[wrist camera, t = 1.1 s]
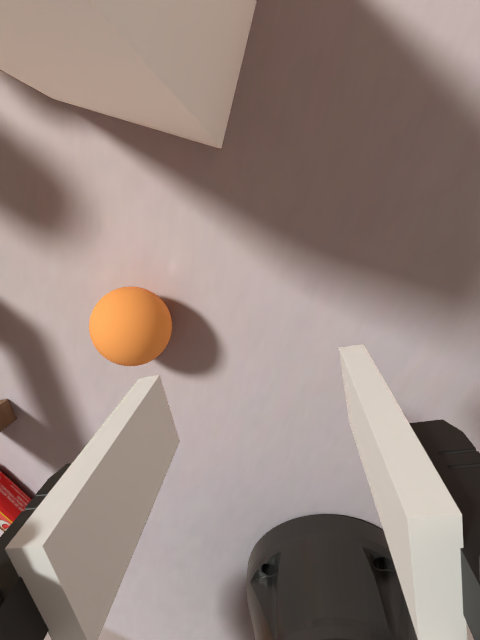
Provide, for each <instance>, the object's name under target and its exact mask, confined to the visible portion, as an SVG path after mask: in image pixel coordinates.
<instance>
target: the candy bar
mask: <svg viewBox="0 0 480 640" xmlns="http://www.w3.org/2000/svg"><path fill="white" fill-rule="evenodd" d="M30 501H31V499H30V498H29V497H28V496H27V495H26V494H25V493H24V492H23V491H22V490H21V489H20V488H19V487H18V486H17V485H15V484H14V483H13V482H12V481H11V480H10V479H9V478H8V477H7V476H5V475H4V474H3V473H2V472H1V471H0V529H1V530H2V531H3V532H5V531H6V530H7V529H8V527H9V526H10V525H11V524H12V523H13V521H14V520H15V519H16V518H17V516H18V515H19V514H20V513H21V512H22V511H25V507H26V506H27V504H28V503H29V502H30Z"/></svg>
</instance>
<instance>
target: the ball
mask: <svg viewBox="0 0 480 640" xmlns="http://www.w3.org/2000/svg"><path fill="white" fill-rule="evenodd" d="M89 331H90V336H91V339H92V342H93V344H94V346H95V347H96V349H97V350H98V351H99V353H100V354H101V355H102V356H104V357H105V358H106V359H108V360H110V361H111V362H113V363H116V364H119V365H124V366H138V365H142V364H145V363H148V362H150V361H152V360H153V359H155V358H156V357H158V356H159V355H160V354H161V353H162V352H163V350H164V349H165V348H166V346H167V344H168V342H169V340H170V337H171V333H172V320H171V315H170V312H169V310H168V308H167V306H166V305H165V303H164V302H163V301H162V300H161V299H160V298H159V297H158V296H157V295H155V294H154V293H152V292H151V291H148V290H146V289H143V288H139V287H122V288H119V289H116V290H113V291H111V292H109V293H108V294H106V295H105V296H104V297H103V298H101V299H100V301H99V302H98V303H97V304H96V306H95V307H94V309H93V311H92V314H91V317H90V323H89Z"/></svg>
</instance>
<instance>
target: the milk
mask: <svg viewBox="0 0 480 640" xmlns="http://www.w3.org/2000/svg"><path fill="white" fill-rule="evenodd" d="M256 2H257V0H0V70H2V71H4V72H5V73H7V74H9V75H11V76H13V77H14V78H16V79H18V80H20V81H22V82H24V83H25V84H27V85H29V86H31V87H33V88H34V89H36V90H38V91H40V92H42V93H43V94H45V95H47V96H49V97H51V98H52V99H55V100H58V101H61V102H65V103H68V104H72V105H75V106H78V107H82V108H85V109H88V110H92V111H95V112H98V113H102V114H105V115H108V116H112V117H115V118H119V119H122V120H125V121H129V122H132V123H135V124H139V125H142V126H145V127H149V128H152V129H155V130H159V131H162V132H165V133H169V134H172V135H176V136H179V137H182V138H186V139H189V140H192V141H196V142H199V143H202V144H206V145H209V146H212V147H216V148H219V149H221V148H222V144H223V140H224V136H225V132H226V127H227V123H228V119H229V115H230V111H231V107H232V102H233V98H234V94H235V90H236V86H237V81H238V77H239V73H240V69H241V65H242V61H243V56H244V52H245V48H246V44H247V40H248V36H249V31H250V27H251V23H252V19H253V15H254V11H255V6H256Z"/></svg>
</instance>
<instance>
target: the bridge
mask: <svg viewBox="0 0 480 640" xmlns="http://www.w3.org/2000/svg"><path fill="white" fill-rule="evenodd" d="M14 420H16V416H15V414H14V412H13V410H12V407H11V405H10V403H9V401H8V399H5V400H0V432H1V431H2V430H4V429H5V428H6V427H7V426H8V425H10V424H11V423H12V422H13V421H14Z"/></svg>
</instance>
